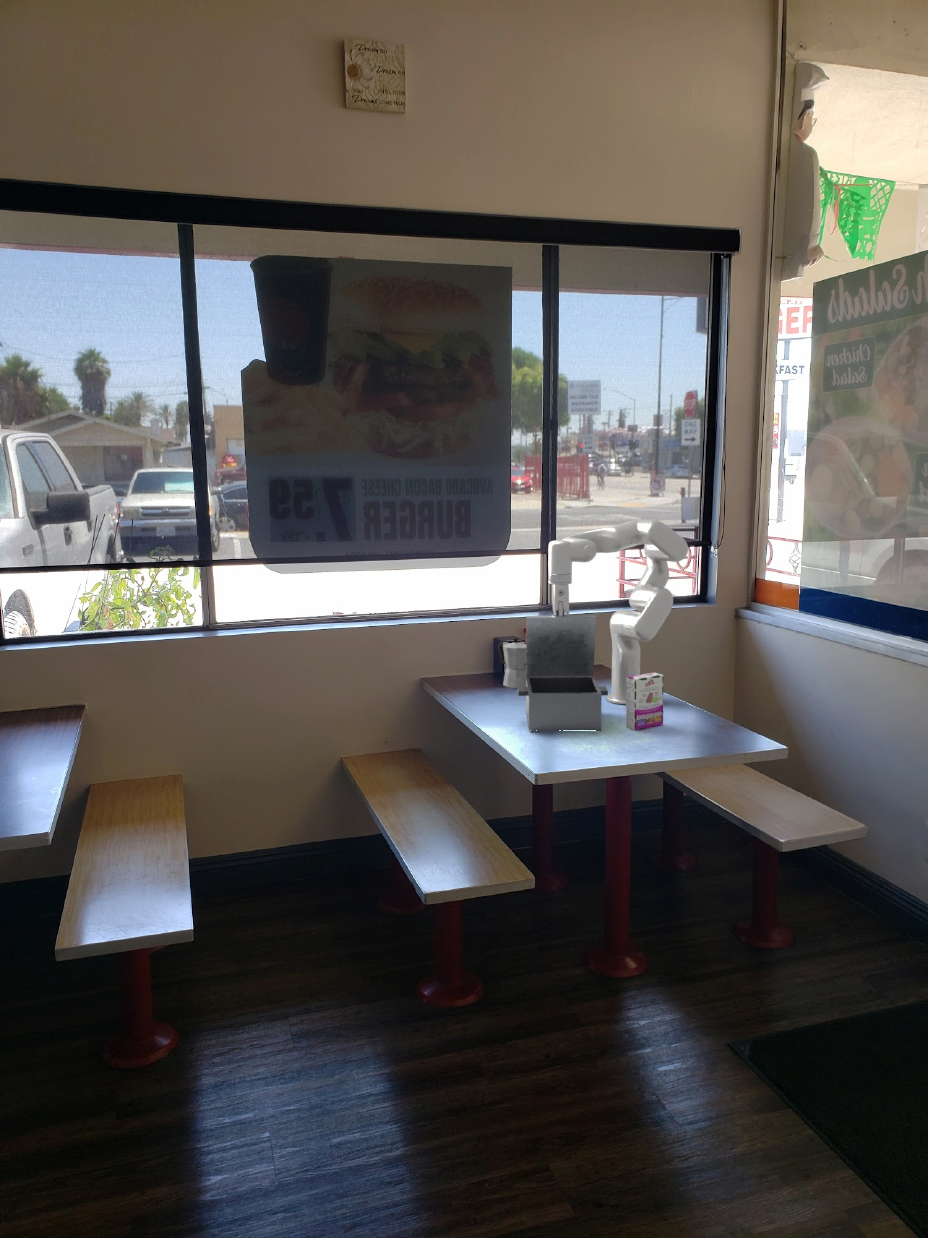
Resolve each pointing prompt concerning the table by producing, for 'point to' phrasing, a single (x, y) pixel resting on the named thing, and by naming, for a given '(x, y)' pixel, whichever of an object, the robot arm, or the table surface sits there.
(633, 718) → the candy bar box
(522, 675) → the coffeepot
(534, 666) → the cooker lid
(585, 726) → the grey metal box
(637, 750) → the table surface
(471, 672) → the table surface
